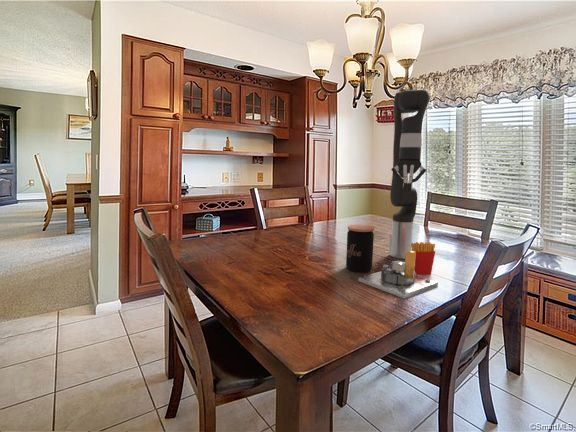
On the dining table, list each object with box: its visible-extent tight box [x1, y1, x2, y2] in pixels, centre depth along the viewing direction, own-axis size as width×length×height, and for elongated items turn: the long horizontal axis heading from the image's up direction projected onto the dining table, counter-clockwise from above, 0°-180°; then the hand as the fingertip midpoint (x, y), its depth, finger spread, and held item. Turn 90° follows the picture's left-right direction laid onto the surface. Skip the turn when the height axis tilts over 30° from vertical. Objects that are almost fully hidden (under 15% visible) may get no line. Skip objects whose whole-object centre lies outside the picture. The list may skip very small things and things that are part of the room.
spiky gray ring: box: [381, 249, 417, 284], centre depth 123 cm, size 17×11×13 cm, turn 2°
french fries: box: [411, 241, 436, 276], centre depth 139 cm, size 9×4×13 cm, turn 86°
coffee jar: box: [345, 224, 375, 274], centre depth 143 cm, size 11×11×18 cm
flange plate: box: [358, 260, 439, 299], centre depth 127 cm, size 20×20×8 cm
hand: (407, 193), depth 130 cm, fingers closed
